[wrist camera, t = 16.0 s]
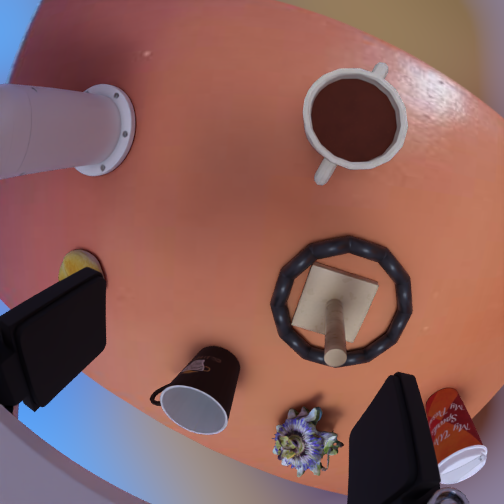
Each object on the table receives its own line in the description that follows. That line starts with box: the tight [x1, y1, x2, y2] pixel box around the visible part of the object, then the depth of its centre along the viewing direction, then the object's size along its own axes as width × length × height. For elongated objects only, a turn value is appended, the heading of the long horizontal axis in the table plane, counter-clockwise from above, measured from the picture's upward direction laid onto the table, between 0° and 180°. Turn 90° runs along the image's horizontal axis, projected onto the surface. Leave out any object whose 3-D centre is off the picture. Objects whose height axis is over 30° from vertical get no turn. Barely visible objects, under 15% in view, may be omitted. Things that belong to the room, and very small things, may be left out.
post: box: [291, 262, 379, 367], centre depth 30 cm, size 8×8×11 cm
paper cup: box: [426, 388, 487, 484], centre depth 30 cm, size 8×8×14 cm
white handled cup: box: [303, 62, 408, 185], centre depth 24 cm, size 11×7×13 cm, turn 152°
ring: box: [270, 236, 413, 368], centre depth 35 cm, size 17×17×2 cm
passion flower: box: [272, 406, 344, 477], centre depth 39 cm, size 11×11×12 cm
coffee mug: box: [150, 346, 240, 435], centre depth 38 cm, size 12×9×10 cm
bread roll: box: [58, 250, 104, 281], centre depth 41 cm, size 8×9×4 cm
